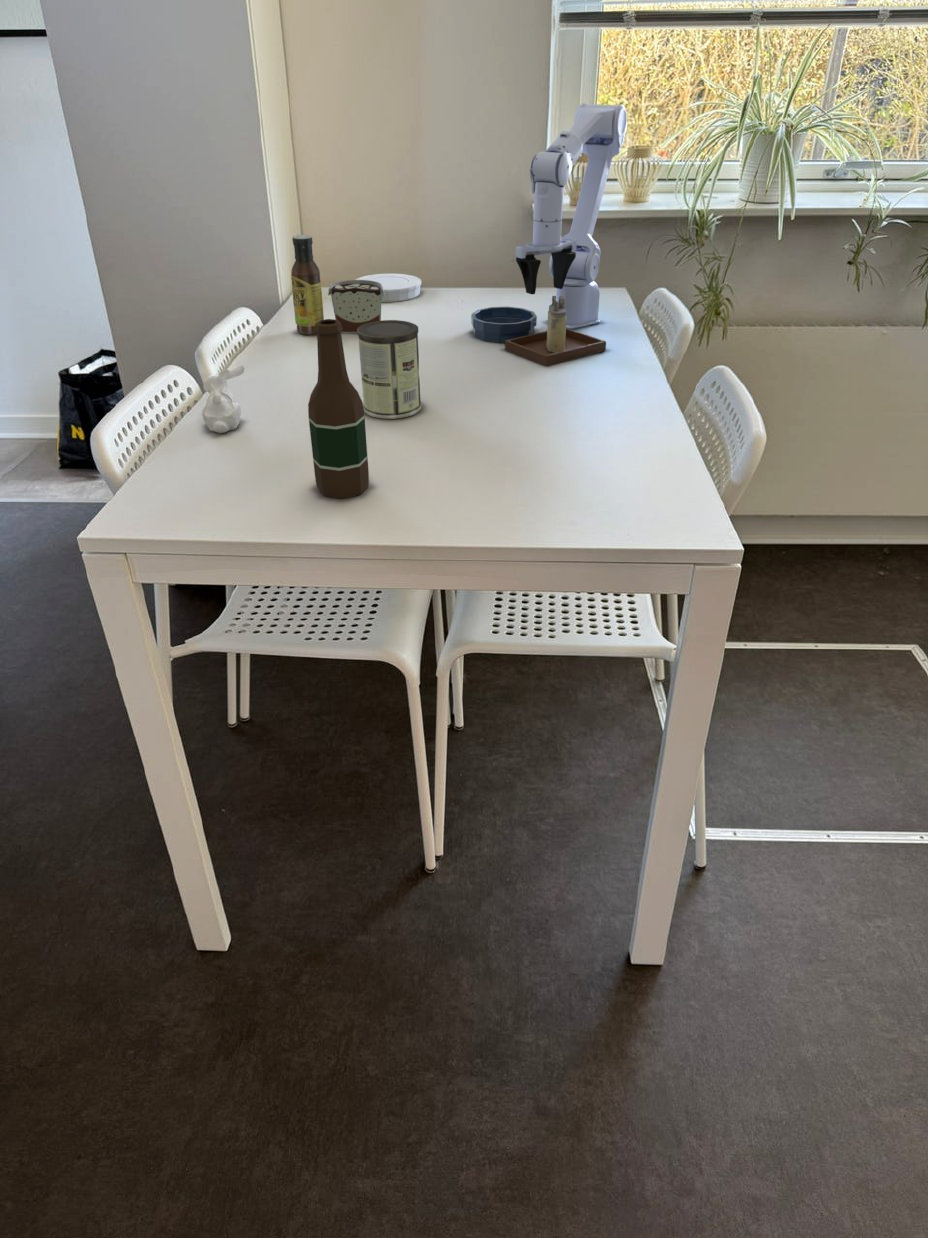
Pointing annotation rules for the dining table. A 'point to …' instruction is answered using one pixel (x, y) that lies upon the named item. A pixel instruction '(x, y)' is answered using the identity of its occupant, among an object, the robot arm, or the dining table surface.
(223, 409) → the rabbit figurine
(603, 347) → the tray
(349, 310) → the food container
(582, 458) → the dining table surface
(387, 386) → the coffee can
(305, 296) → the sauce bottle
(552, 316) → the beige tall upright piece
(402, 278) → the lid
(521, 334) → the bowl
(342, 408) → the beer bottle
